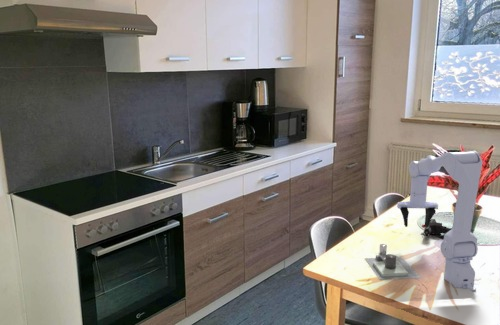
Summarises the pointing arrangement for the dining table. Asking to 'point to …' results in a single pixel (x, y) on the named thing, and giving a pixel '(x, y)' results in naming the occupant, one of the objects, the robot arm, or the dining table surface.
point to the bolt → (382, 251)
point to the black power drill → (435, 228)
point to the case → (408, 268)
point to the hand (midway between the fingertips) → (416, 226)
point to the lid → (390, 267)
